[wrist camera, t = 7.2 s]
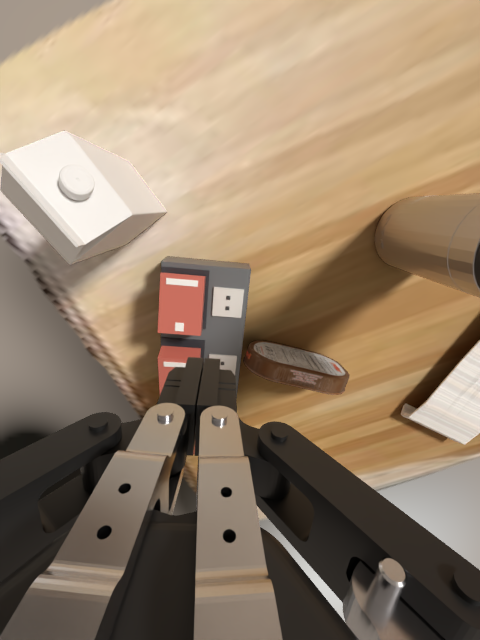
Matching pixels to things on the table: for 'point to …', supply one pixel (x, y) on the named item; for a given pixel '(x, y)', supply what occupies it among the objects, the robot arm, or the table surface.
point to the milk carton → (78, 195)
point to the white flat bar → (453, 402)
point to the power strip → (216, 309)
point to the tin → (296, 367)
